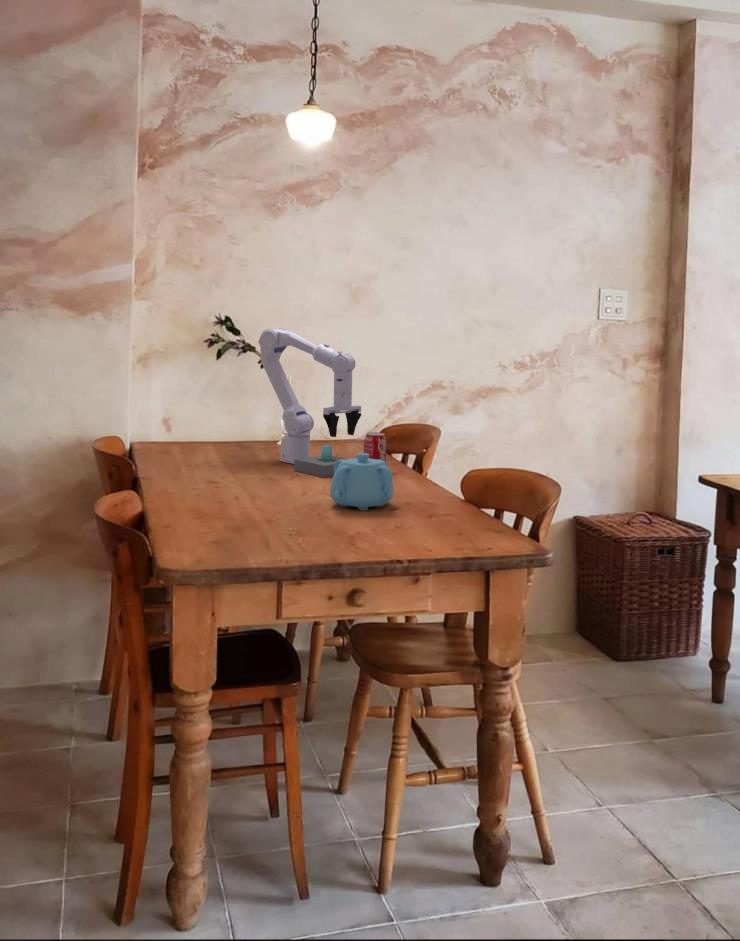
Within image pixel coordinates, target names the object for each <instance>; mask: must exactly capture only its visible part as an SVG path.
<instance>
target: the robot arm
mask: <svg viewBox="0 0 740 941" xmlns="http://www.w3.org/2000/svg"><path fill="white" fill-rule="evenodd" d="M258 344H259V347H260V361H261V364H262V366H263V368H264V369H263V370H264V371H265V373H266V375H267V378H268V379H269V382H270V383H271V386H272V388H273V390H274V392H275V394H276V397H277V399H278V400H279V403H280V405H281V407H282V409H283V413H282V415H281V416H282V419H283V424H284V426H283V427H284V430H285V432H286V434H285V435H284V436H283V437H282V439H281V446H280V448H281V451H280V452H281V454H280V456H281V457H280V459H278V461H279V462H282V463H287V464H293V465H294V459H301V458H309V457H311V431H312V430H313V428H314V427H315V426H314V425H315V422H314V418H313V416H312V415H310V413H308V411H307V409H306V408H305V407H304V406H302V404H300V402H299V400H298V398H297V396H296V394H295V392H294V390H293V388H292V385H291V384H290V381H289V379H288V377H287V374H286V373H285V371H284V369H283V366H282V364H281V362H280V359H281V356H282V354H283V353H284V352H285V350H286V349H287V347H289V346H291V347H294V348H296V349H298V350H300V351H303V352H305V353H308V354H310V355H312V357H313V359H314V361H315V362H317V363H319V364H322V365H324V366H325V367H328V368H329V369H331V370H332V372H333V374H334V375H333V378H334V379H333V406H329V407H323V409H322V410H323V413H322V414H323V415H322V417H323V419H324V420H325V423H326V426H327V428H328V432H329V437H330V438H331V437H332V438H337V435H338V434H337V433H338V430H337V429H338V424H339V423H338V422H339V420H340V415H337V414H345V417H346V418H345V419H346V423H347V425H346V427H347V436H354V434H355V431H356V427H357V424H358V422H359V420H360V418H362V413H361V412H362V405H352V404H353V403H352V402H353V399H352V398H353V371H354V369H355V367H356V360H355V358H354V357H353V356H352V355H351V354H349V353H345V354H344V353H343V351H342V350H336V349H334V348H331V347H330V344H328V343H324V344H323V343H320V344H318V345H317V344H315V343H313V342H311V341H309V340H308V339H305V338H304V337H303V336H302V337H301V336H300V335H298V334H296V333H294V332H293V331H289V330H286V329H285V328H278V329H271V328H267V329H264V330H263V331H262V332H261V335H260V336H259V338H258Z"/></svg>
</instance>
